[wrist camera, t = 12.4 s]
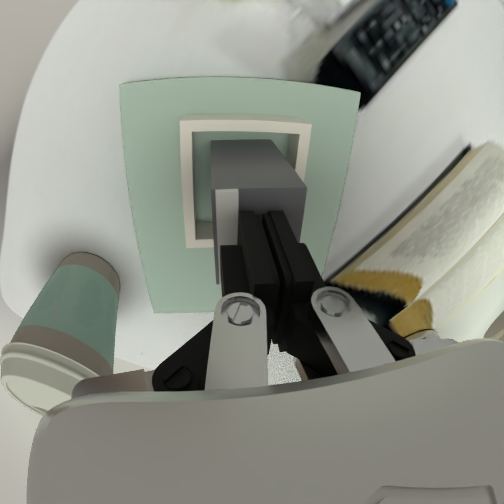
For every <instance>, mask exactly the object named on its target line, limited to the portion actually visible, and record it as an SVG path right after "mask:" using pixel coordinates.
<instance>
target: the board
mask: <svg viewBox="0 0 504 504" xmlns="http://www.w3.org/2000/svg"><path fill="white" fill-rule="evenodd" d="M360 94H361V93H360V92H356V91H353V90H348V89H343V88H337V87H331V86H325V85H319V84H312V83H305V82H297V81H288V80H278V79H266V78H249V77H186V78H169V79H157V80H147V81H138V82H130V83H124V84H120V109H121V125H122V138H123V148H124V158H125V167H126V175H127V183H128V190H129V197H130V203H131V209H132V215H133V221H134V227H135V232H136V237H137V243H138V248H139V252H140V257H141V262H142V266H143V271H144V275H145V279H146V284H147V288H148V292H149V296H150V300H151V304H152V307H153V311H154V313H191V312H215V307H216V305H217V303H218V301H219V300H220V299H221V298H222V290H221V287H220V284H217V285H216V273H215V257H214V247H210V248H186V239H185V227H184V213H183V198H182V180H181V156H180V119H181V118H182V116H183V115H185V114H259V115H277V116H290V117H301V118H303V119H304V120H306V121H307V122H309V123H311V124H312V128H311V135H310V143H309V150H308V157H307V164H306V171H305V178H304V184H305V185H306V186H307V195H306V202H305V209H304V217H303V224H302V231H301V237H300V243H305V244H306V246H307V248H308V250H309V252H310V254H311V256H312V258H313V260H314V262H315V264H316V267H317V269H318V271H319V273H320V275H321V277H322V273H323V269H324V266H325V262H326V258H327V255H328V251H329V247H330V243H331V239H332V235H333V231H334V227H335V223H336V219H337V215H338V210H339V206H340V202H341V197H342V193H343V188H344V184H345V179H346V174H347V169H348V164H349V159H350V154H351V149H352V143H353V138H354V132H355V126H356V120H357V114H358V107H359V101H360ZM239 139H271V140H272V141H273V143H274V144H275V145H276V146H277V148H278V149H279V150H280V152H281V153H282V154H283V155H284V157H285V158H287V149H288V140H289V133H275V132H250V131H201V132H194V170H195V201H196V223H198V222H212V201H211V140H239Z"/></svg>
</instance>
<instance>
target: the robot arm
mask: <svg viewBox="0 0 504 504" xmlns="http://www.w3.org/2000/svg"><path fill="white" fill-rule="evenodd" d="M220 275H221V290H222V298H221V299H220V300H219V301H218V303H217V305H216V307H215V313H214V320H213V321H212V322H210V323H209V324H208V325H207V326H206V327H204V328H203V329H202V330H201V331H200V332H198V333H197V334H196V335H195V336H194V337H192V338H191V339H190V340H189V341H188V342H186V343H185V344H184V345H183V346H182V347H180V348H179V349H178V350H177V351H176V352H174V353H173V354H172V355H171V356H169V357H168V358H167V359H166V360H165V361H163V362H162V363H161V364H160V365H159V366H158V367H157V368H156V369H155V370H152V371H147V372H145V371H144V369H141V370H136V371H130V372H124V373H118V374H112V375H105V376H99V377H92V378H86V379H83V380H81V381H80V382H78V383H77V384H76V385H75V387H74V389H73V390H72V395H71V399H70V400H67V401H64V402H62V403H60V404H58V405H56V406H54V407H53V408H51V409H50V410H48V411H47V412H46V413H45V415H44V416H43V417H42V419H41V420H40V423H39V425H38V427H37V429H36V433H35V436H34V439H33V443H32V448H31V453H30V459H29V467H28V479H27V504H504V342H502V341H499V340H495V339H473V340H467V341H463V342H459V343H458V342H456V341H455V340H453V339H440V338H439V336H438V334H437V332H435V331H433V330H425V331H421V332H418V333H415V334H413V335H411V336H409V337H407V338H403V337H402V336H400V335H398V334H396V333H394V332H392V331H390V330H388V329H386V328H384V327H382V326H380V325H378V324H376V323H374V322H372V321H370V320H368V319H367V318H366V316H365V315H364V313H363V312H362V310H361V309H360V308H359V306H358V305H357V303H356V302H355V300H354V299H353V298H352V297H351V296H350V295H349V294H348V293H347V292H345V291H344V290H342V289H339V288H336V287H326V286H325V284H324V282H323V279H322V277H321V275H320V273H319V271H318V269H317V267H316V264H315V262H314V260H313V258H312V256H311V254H310V252H309V250H308V248H307V246H306V244H305V243H298V242H297V240H296V237H295V235H294V233H293V231H292V229H291V226H290V224H289V222H288V220H287V218H286V216H285V213H284V211H268V213H267V214H263V216H262V221H261V218H260V215H259V214H254V211H239V213H238V235H237V245H220ZM271 339H272V342H273V344H278V347H279V351H280V352H284V351H287V353H289V354H290V355H292V356H294V358H293V360H294V364H295V366H296V369H297V371H298V373H299V375H300V377H301V380H302V381H299V382H293V383H285V384H278V385H269V386H268V367H267V355H268V354H269V349H270V344H271Z"/></svg>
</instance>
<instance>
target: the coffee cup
mask: <svg viewBox="0 0 504 504" xmlns="http://www.w3.org/2000/svg"><path fill="white" fill-rule="evenodd" d="M119 291H120V281H119V278H118V275H117V273H116V272H115V270H114V269H113V268H112V267H111V266H110V265H109V264H108V263H107V262H106V261H105V260H103V259H101V258H100V257H98V256H96V255H93V254H89V253H84V252H78V253H73V254H70V255H68V256H67V257H66V258H65V259H64V260H63V261H62V263H61V264H60V265H59V267H58V268H57V269H56V271H55V272H54V273H53V275H52V276H51V278H50V279H49V280H48V282H47V283H46V285H45V286H44V288H43V289H42V291H41V292H40V294H39V295H38V297H37V298H36V300H35V301H34V303H33V304H32V306H31V308H30V309H29V311H28V312H27V314H26V316H25V317H24V319H23V321H22V322H21V324H20V326H19V327H18V329H17V331H16V333H15V335H14V336H13V339H12V340H11V342H10V343H9V344H7V345H5V346H4V347H3V349H2V356H1V359H0V364H1V384H2V386H3V387H4V389H5V390H6V391H7V392H8V393H9V395H11V396H12V397H13V398H14V399H15V400H16V401H18V402H19V403H20V404H22V405H23V406H25V407H26V408H28V409H30V410H31V411H33V412H35V413H37V414H39V415H41V416H44V415H45V413H46V412H47V411H48V410H50V409H51V408H53V407H54V406H56V405H58V404H60V403H62V402H64V401H67V400H70V399H71V395H72V390H73V389H74V387H75V385H76V384H77V383H78V382H80V381H81V380H83V379H86V378H92V377H99V376H105V375H112V374H113V364H114V345H115V331H116V320H117V310H118V300H119Z"/></svg>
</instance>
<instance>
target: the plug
mask: <svg viewBox="0 0 504 504" xmlns="http://www.w3.org/2000/svg"><path fill="white" fill-rule="evenodd" d="M306 195H307V186H306V185H305V184H304V182H303V181H302V180H301V178H300V177H299V175H298V174H297V173H296V171H295V170H294V169H293V167H292V166H291V165H290V163H289V162H288V161H287V159H286V158H285V157H284V155H283V154H282V153H281V152H280V150H279V149H278V148H277V146H276V145H275V144H274V143H273V141H272V140H271V139H239V140H211V201H212V222H213V240H214V257H215V273H216V285H217V284H220V287H221V275H220V245H237V235H238V213H239V211H254V214H259V215H260V218H261V221H262V216H263V214H267V213H268V211H284V213H285V216H286V218H287V220H288V222H289V224H290V226H291V229H292V231H293V233H294V235H295V237H296V240H297V242H298V243H300V237H301V231H302V224H303V217H304V209H305V202H306Z"/></svg>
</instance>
